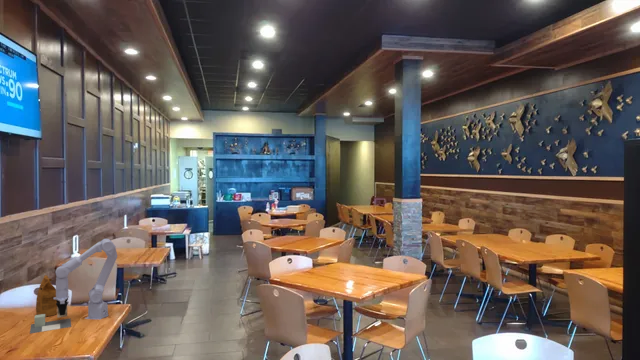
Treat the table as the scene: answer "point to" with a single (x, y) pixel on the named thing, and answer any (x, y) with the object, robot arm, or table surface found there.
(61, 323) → the board
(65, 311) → the walnut block
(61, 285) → the robot arm
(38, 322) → the sage block
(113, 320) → the table surface
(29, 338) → the table surface
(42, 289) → the coffee package
